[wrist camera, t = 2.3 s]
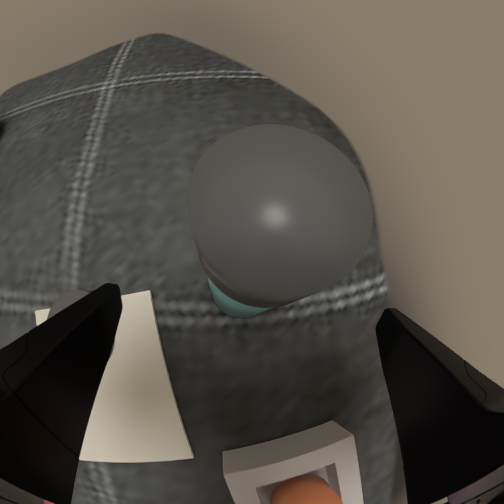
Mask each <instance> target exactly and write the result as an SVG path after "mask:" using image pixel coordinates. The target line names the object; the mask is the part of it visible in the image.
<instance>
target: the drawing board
mask: <svg viewBox="0 0 504 504" xmlns="http://www.w3.org/2000/svg"><path fill="white" fill-rule="evenodd" d="M87 294H89V292H87V291H83V290H71V291H68V292H66V293H64V294H62V295H61V296H59V297H58V298H57V299H56V301H55V302H54V303H53V305H52V306H51V308H50V309H44V310H38V311H35V314H36V323H37V326H38V325H39V324H41V323H43V322H44V321H46V320H47V319H49V318H50V317H52V316H53V315H55V314H57V313H58V312H60V311H61V310H63V309H65V308H66V307H68V306H69V305H71V304H73V303H74V302H76V301H77V300H79V299H81V298H82V297H84V296H86V295H87ZM121 299H122V304H123V309H122V313H121V317H120V321H119V324H118V328H117V332H116V336H115V340H114V344H113V347H112V351H111V354H110V357H109V359H108V362H107V365H106V368H105V371H104V374H103V377H102V380H101V383H100V386H99V389H98V392H97V395H96V398H95V401H94V405H93V408H92V411H91V415H90V418H89V422H88V425H87V429H86V433H85V437H84V441H83V445H82V449H81V453H80V457H79V460H85V461H99V462H157V461H172V460H182V459H191V458H194V454H193V451H192V448H191V446H190V443H189V440H188V437H187V434H186V431H185V428H184V425H183V422H182V419H181V416H180V412H179V409H178V406H177V402H176V399H175V395H174V392H173V388H172V385H171V381H170V377H169V373H168V369H167V365H166V361H165V357H164V353H163V349H162V344H161V340H160V335H159V330H158V326H157V321H156V315H155V310H154V305H153V299H152V293H151V291H150V290H149V291H144V292H139V293H133V294H128V295H123V296H121Z"/></svg>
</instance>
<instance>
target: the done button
mask: <svg viewBox="0 0 504 504" xmlns="http://www.w3.org/2000/svg"><path fill="white" fill-rule="evenodd" d="M270 504H343V502H342V500H341V498H340V497H339V496H338V495H337V493H336V492H335V491H334V490H333V489H332V488H331V486H330V485H329V484H328V483H327V482H326V480H325V479H323V478H321V477H319V476H316V475H301V476H296V477H293V478H290V479H288V480H286V481H284V482H283V483H281V484H280V485H279V486H277V487H276V488H275V490H274V491H273V492H272V494H271V497H270Z"/></svg>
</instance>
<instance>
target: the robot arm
mask: <svg viewBox="0 0 504 504" xmlns="http://www.w3.org/2000/svg"><path fill="white" fill-rule="evenodd" d="M122 309H123V304H122V299H121V293H120V288H119V286H118V285H117V284H112V283H106V284H104V285H102V286H101V287H99V288H97V289H96V290H94V291H92V292H91V293H89V294H87V295H86V296H84V297H82V298H81V299H79V300H77V301H76V302H74V303H73V304H71V305H69V306H68V307H66V308H65V309H63V310H61V311H60V312H58V313H57V314H55V315H53V316H52V317H50V318H49V319H47V320H46V321H44V322H43V323H41V324H39V325H38V326H36V327H35V328H33V329H32V330H30V331H29V333H26V334H24V335H23V336H21V337H20V338H18V339H17V340H15V341H14V342H12V343H10V344H9V345H7V346H6V347H4V348H2V349H1V350H0V504H43V502H44V500H46V501H49V502H51V503H54V504H71V500H72V493H73V488H74V482H75V477H76V472H77V467H78V462H79V457H80V453H81V449H82V445H83V441H84V437H85V433H86V429H87V425H88V422H89V418H90V415H91V411H92V408H93V405H94V401H95V398H96V395H97V392H98V389H99V386H100V383H101V380H102V377H103V374H104V371H105V368H106V365H107V362H108V359H109V357H110V354H111V351H112V347H113V344H114V340H115V336H116V332H117V328H118V324H119V321H120V317H121V313H122ZM376 336H377V341H378V347H379V352H380V358H381V364H382V368H383V373H384V376H385V380H386V384H387V388H388V392H389V396H390V400H391V405H392V409H393V414H394V418H395V423H396V428H397V433H398V438H399V444H400V449H401V455H402V461H403V469H404V475H405V483H406V492H407V502H408V504H431V503H434V502H436V501H438V500H441V499H443V498H445V497H447V498H448V502H446V503H444V504H504V389H503V388H502V387H500V386H499V385H498V384H496V383H495V382H493V381H492V380H491V379H489V378H487V377H486V376H485V375H483V374H482V373H481V372H479V371H478V370H477V369H475V368H474V367H473V366H471V365H470V364H469V363H468V362H466V361H465V360H463V358H461V357H460V356H459V355H457V354H456V353H455V352H454V351H452V350H451V349H450V348H448V347H447V346H446V345H444V344H443V343H442V342H440V341H439V340H438V339H437V338H435V337H434V336H433V335H431V334H430V333H428V332H427V331H426V330H425V329H423V328H422V327H421V326H419V325H418V324H416V323H415V322H414V321H412V320H411V319H410V318H408V317H407V316H406V315H404V314H403V313H401V312H400V311H399V310H397V309H395V308H387V309H385V310H384V311H383V313H382V315H381V317H380V319H379V321H378V323H377V325H376Z"/></svg>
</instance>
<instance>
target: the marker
mask: <svg viewBox="0 0 504 504" xmlns="http://www.w3.org/2000/svg"><path fill="white" fill-rule="evenodd" d="M187 206H188V215H189V219H190V223H191V227H192V231H193V235H194V239H195V243H196V246H197V250H198V254H199V257H200V261H201V264H202V266H203V268H204V271H205V272H206V274H207V277H208V281H209V285H210V289H211V293H212V297H213V300H214V302H215V304H216V305H217V306H218V308H219V309H220V310H221V311H222V312H224V313H225V314H227V315H229V316H231V317H235V318H248V317H252V316H254V315H256V314H259V313H261V312H264V311H266V310H268V309H271V308H274V307H280V306H284V305H287V304H290V303H292V302H295V301H297V300H300V299H302V298H305V297H307V296H310V295H312V294H315V293H317V292H319V291H322V290H324V289H327V288H329V287H330V286H332V285H334V284H336V283H338V282H339V281H341V280H342V279H343V278H345V277H346V276H347V275H348V274H349V273H350V272H351V271H352V270H353V269H354V268H355V267H356V266H357V265H358V263H359V262H360V260H361V259H362V257H363V255H364V253H365V251H366V250H367V247H368V244H369V241H370V238H371V233H372V225H373V214H372V205H371V200H370V196H369V193H368V190H367V188H366V185H365V183H364V181H363V179H362V177H361V175H360V174H359V172H358V171H357V169H356V168H355V166H354V165H353V164H352V163H351V161H350V160H349V159H348V158H347V157H346V156H345V155H344V154H343V153H342V152H341V151H340V150H339V149H337V148H336V147H335V146H334V145H332V144H331V143H329V142H328V141H326V140H325V139H323V138H321V137H319V136H317V135H316V134H313V133H311V132H308V131H306V130H303V129H300V128H296V127H292V126H287V125H278V124H262V125H255V126H250V127H246V128H242V129H239V130H237V131H234V132H232V133H230V134H228V135H226V136H224V137H222V138H221V139H220V140H218V141H217V142H215V143H214V144H213V145H212V146H211V147H210V148H209V149H208V150H207V151H206V152H205V153H204V154H203V156H202V157H201V158H200V160H199V161H198V163H197V165H196V167H195V168H194V171H193V173H192V176H191V178H190V182H189V187H188V195H187Z"/></svg>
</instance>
